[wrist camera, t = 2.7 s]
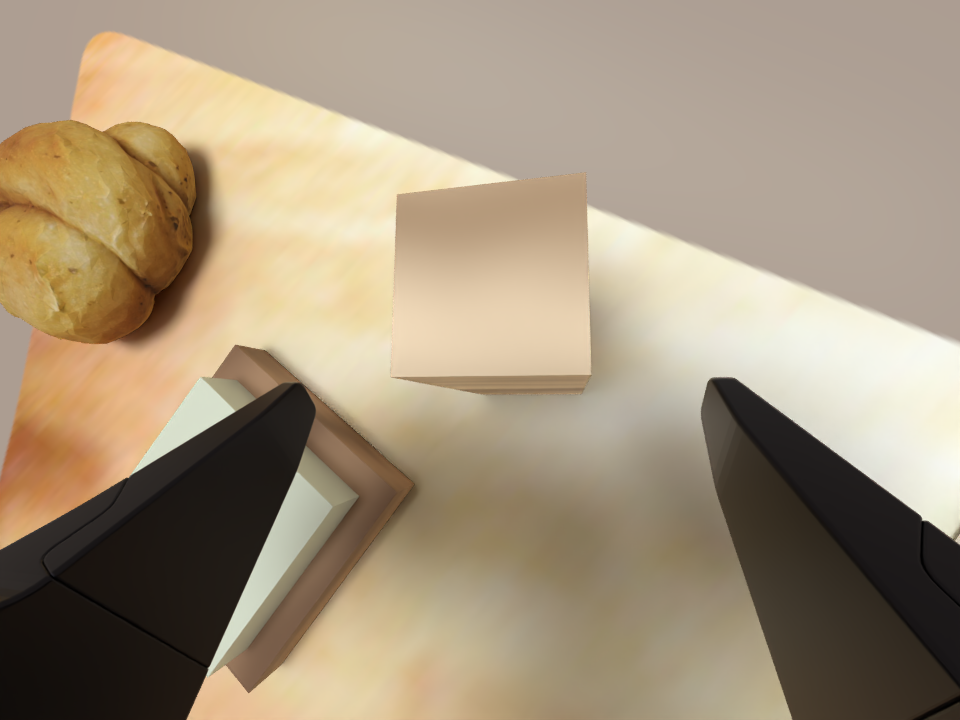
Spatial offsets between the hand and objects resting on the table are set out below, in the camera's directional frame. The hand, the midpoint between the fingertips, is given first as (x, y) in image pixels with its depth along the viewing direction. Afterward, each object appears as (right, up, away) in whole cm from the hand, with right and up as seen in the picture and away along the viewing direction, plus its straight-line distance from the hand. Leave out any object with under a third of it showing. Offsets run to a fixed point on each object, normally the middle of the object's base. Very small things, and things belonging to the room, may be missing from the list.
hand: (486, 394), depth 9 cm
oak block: (+2, +1, +10) cm, 10 cm away
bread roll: (-20, +7, +16) cm, 27 cm away
